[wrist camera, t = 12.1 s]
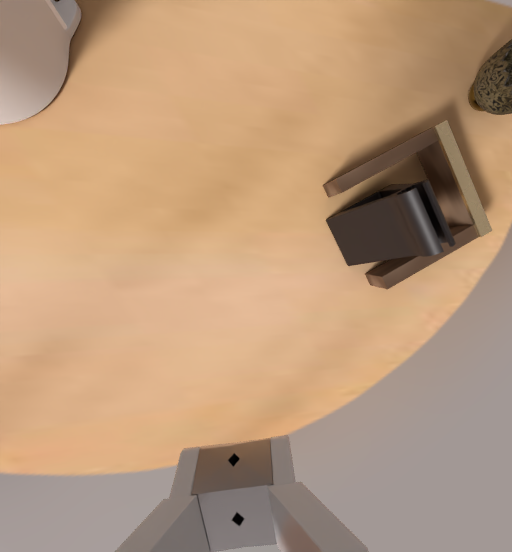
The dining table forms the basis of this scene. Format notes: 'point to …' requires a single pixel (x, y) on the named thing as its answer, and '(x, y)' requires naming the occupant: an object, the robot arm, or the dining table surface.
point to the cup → (494, 84)
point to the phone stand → (392, 225)
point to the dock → (448, 190)
